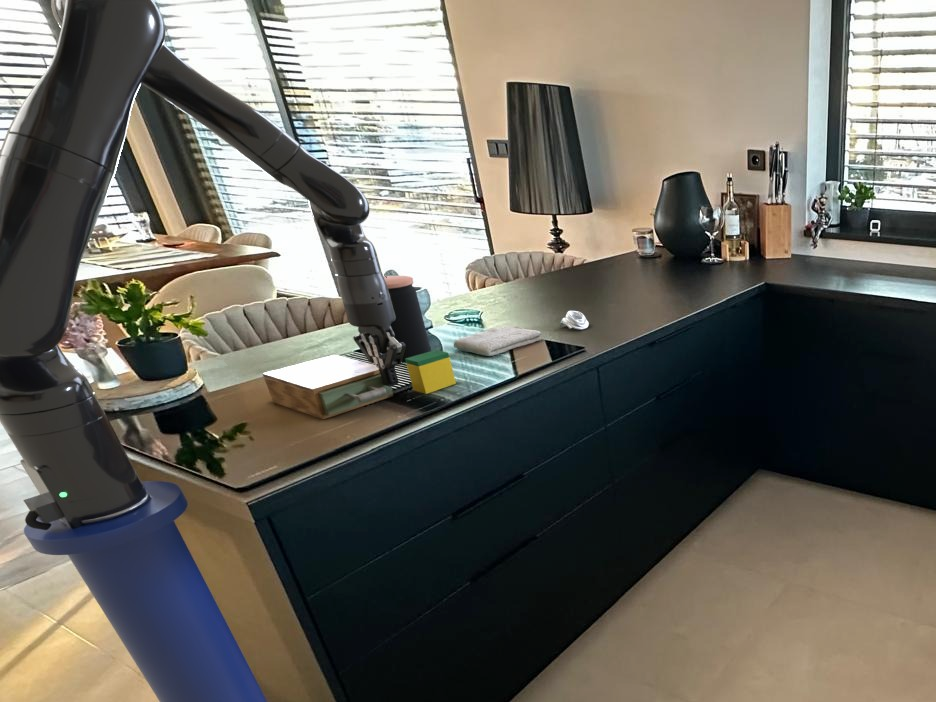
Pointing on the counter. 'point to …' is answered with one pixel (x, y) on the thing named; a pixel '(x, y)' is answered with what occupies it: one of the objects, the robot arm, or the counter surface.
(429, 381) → the sponge
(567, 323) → the whipped cream
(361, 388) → the drawer
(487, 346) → the washcloth
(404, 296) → the coffee jar
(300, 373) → the cabinet
